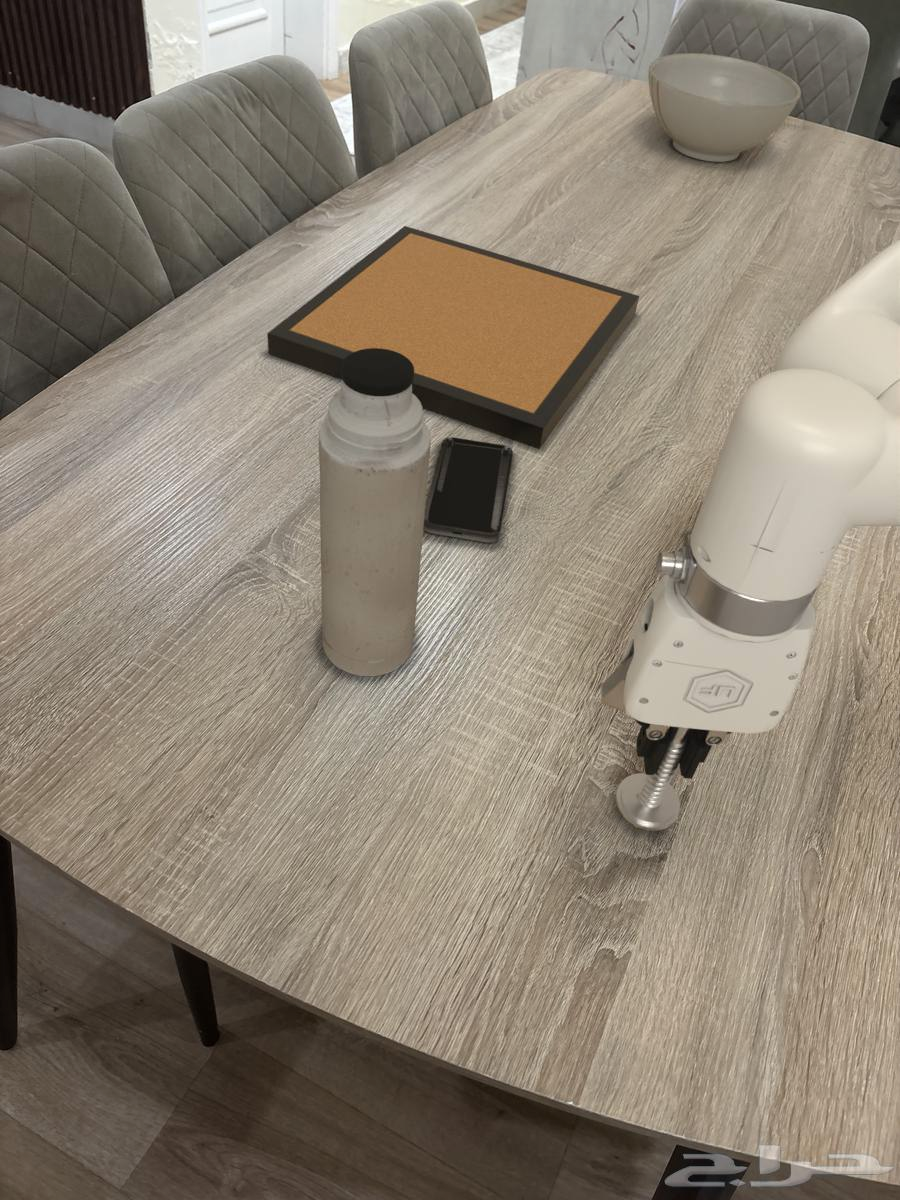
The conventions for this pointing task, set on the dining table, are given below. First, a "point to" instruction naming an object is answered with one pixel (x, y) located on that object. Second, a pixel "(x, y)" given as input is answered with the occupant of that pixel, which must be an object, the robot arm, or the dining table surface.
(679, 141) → the decorative bowl
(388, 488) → the thermos bottle
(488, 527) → the phone
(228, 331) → the dining table surface
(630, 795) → the screw
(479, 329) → the cork board
